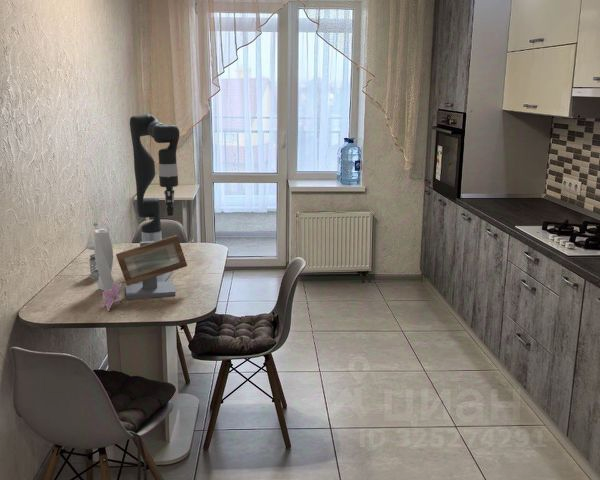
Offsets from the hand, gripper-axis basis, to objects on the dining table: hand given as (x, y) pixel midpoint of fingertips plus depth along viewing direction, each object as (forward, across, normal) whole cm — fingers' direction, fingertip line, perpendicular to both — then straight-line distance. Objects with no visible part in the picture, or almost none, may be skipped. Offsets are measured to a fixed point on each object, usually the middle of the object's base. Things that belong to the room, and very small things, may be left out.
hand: (170, 213), depth 265 cm
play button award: (+34, -22, -11) cm, 42 cm away
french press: (+34, -30, -34) cm, 57 cm away
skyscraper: (+34, -9, -29) cm, 45 cm away
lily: (+34, +16, -24) cm, 44 cm away
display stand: (+34, -2, -10) cm, 35 cm away
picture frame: (+26, +1, -7) cm, 27 cm away
